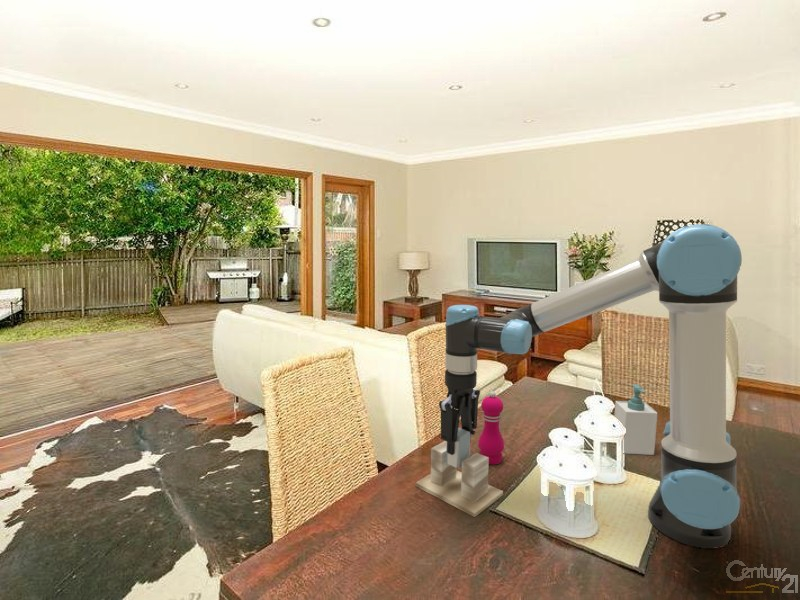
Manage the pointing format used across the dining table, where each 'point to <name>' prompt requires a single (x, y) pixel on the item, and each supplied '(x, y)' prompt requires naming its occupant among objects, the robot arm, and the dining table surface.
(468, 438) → the blue-grey rectangular block
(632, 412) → the soap bottle
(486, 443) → the pepper mill
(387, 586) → the dining table surface
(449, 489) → the two-post base plate
